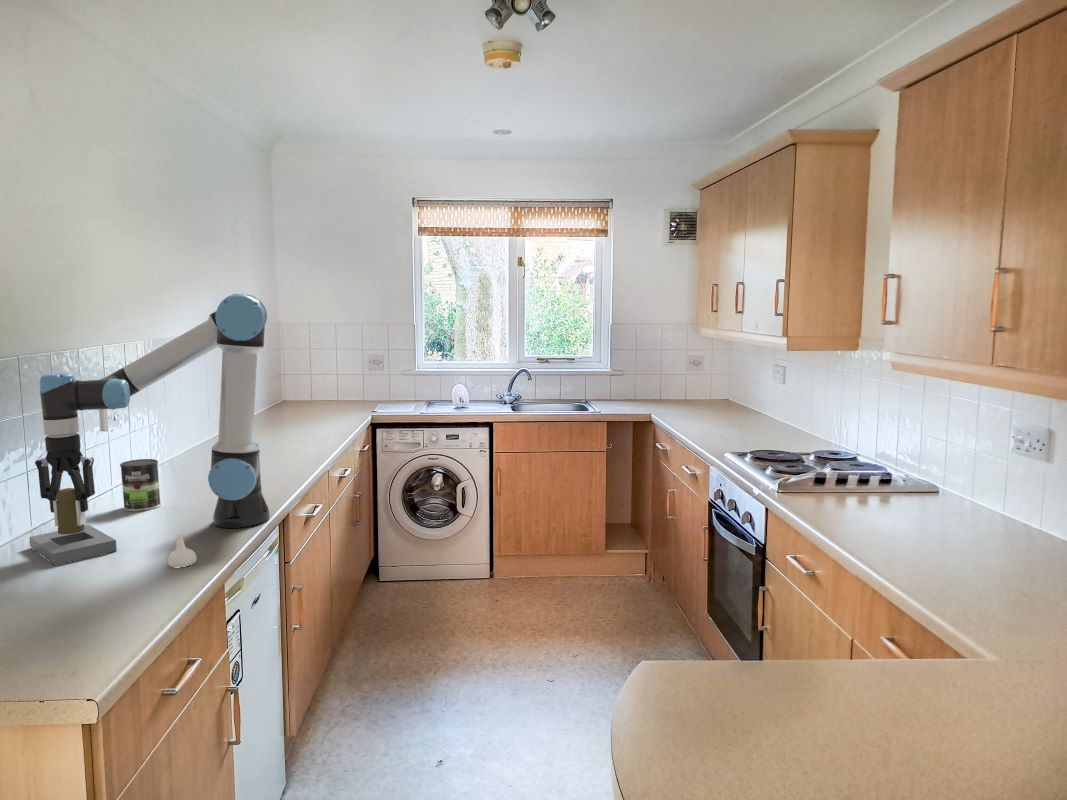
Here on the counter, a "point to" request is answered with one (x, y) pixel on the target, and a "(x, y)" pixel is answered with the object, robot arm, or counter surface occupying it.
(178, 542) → the garlic bulb
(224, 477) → the robot arm
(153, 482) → the coffee can
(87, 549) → the dock board
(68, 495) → the cork
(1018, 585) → the counter surface
